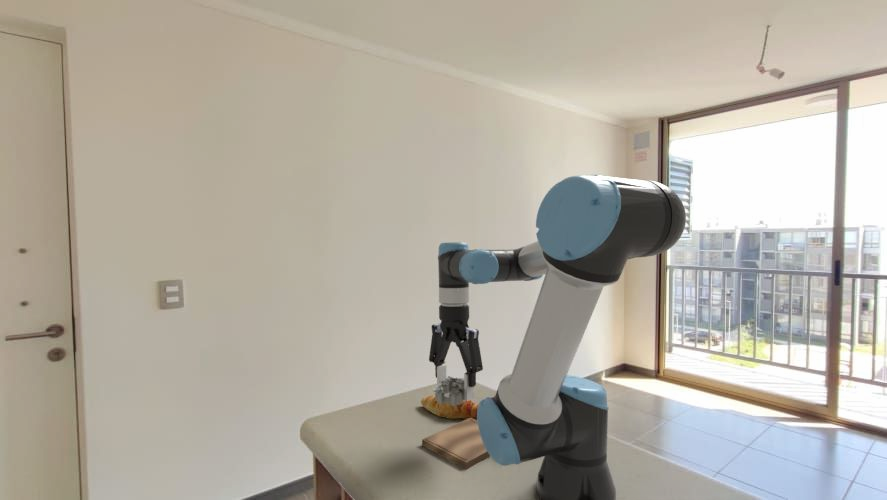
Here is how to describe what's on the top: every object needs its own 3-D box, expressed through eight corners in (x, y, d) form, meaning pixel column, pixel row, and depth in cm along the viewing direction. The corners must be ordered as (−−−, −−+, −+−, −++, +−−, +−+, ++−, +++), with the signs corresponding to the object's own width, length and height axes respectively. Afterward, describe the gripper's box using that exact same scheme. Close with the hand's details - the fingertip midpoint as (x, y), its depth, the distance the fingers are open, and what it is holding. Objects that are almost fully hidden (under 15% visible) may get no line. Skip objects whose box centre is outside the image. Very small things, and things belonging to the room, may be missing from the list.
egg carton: (458, 407, 96) (458, 390, 96) (430, 402, 99) (430, 385, 99) (475, 392, 105) (475, 376, 105) (448, 388, 109) (448, 373, 109)
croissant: (416, 421, 125) (410, 402, 121) (430, 396, 133) (424, 377, 129) (482, 434, 116) (477, 414, 112) (492, 406, 124) (488, 386, 120)
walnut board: (514, 441, 105) (514, 435, 105) (466, 469, 92) (466, 461, 92) (470, 423, 116) (470, 417, 116) (422, 445, 103) (422, 438, 103)
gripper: (497, 306, 99) (498, 401, 98) (434, 299, 113) (435, 382, 113) (478, 309, 93) (479, 410, 93) (414, 302, 108) (415, 389, 107)
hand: (455, 395), depth 103 cm, fingers closed on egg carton, 8 cm apart
